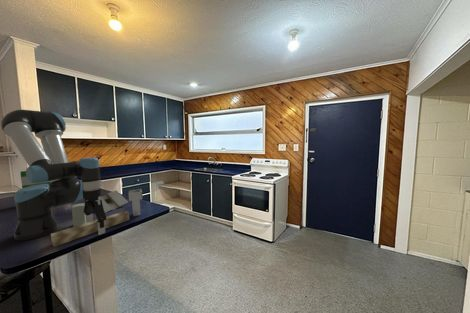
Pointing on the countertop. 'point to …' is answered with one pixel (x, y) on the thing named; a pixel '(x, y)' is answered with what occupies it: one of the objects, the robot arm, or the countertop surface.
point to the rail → (87, 228)
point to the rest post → (78, 214)
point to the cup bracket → (135, 200)
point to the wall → (112, 200)
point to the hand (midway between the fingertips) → (95, 230)
